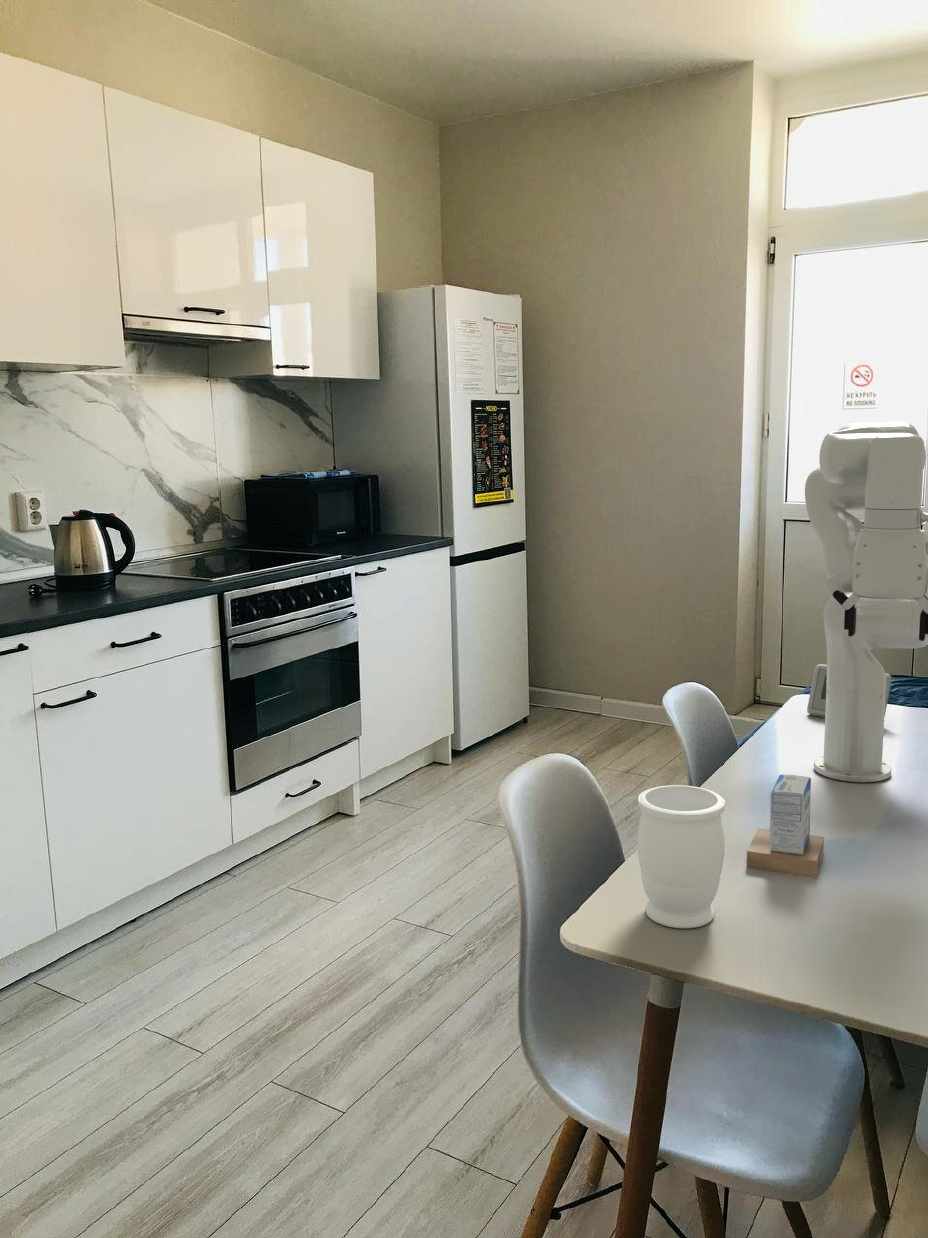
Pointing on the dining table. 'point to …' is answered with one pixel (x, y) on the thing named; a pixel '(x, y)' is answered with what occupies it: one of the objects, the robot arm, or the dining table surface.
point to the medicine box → (790, 814)
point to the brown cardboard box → (785, 856)
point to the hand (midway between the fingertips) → (886, 637)
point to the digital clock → (819, 691)
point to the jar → (680, 853)
